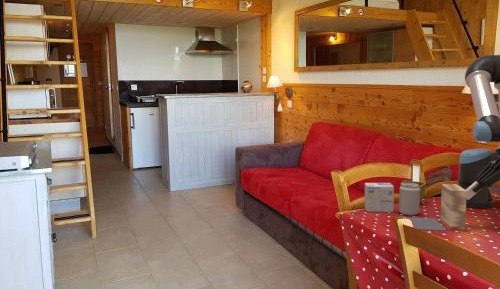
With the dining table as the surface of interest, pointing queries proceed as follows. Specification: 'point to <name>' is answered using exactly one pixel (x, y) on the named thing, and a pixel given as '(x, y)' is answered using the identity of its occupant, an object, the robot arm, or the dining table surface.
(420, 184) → the flower pot
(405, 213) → the can
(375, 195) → the light bulb box
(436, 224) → the mat
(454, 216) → the birch block
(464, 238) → the dining table surface
